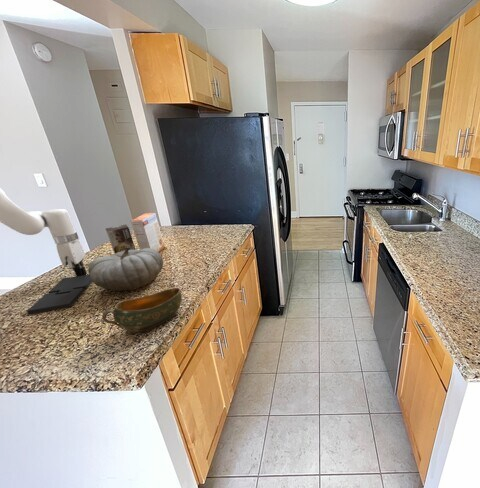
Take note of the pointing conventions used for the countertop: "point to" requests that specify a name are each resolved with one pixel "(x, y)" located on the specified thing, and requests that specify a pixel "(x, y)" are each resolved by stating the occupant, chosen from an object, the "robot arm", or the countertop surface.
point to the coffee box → (120, 238)
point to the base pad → (55, 301)
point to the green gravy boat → (145, 311)
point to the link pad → (71, 284)
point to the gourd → (126, 269)
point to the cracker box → (148, 232)
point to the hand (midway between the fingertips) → (81, 275)
